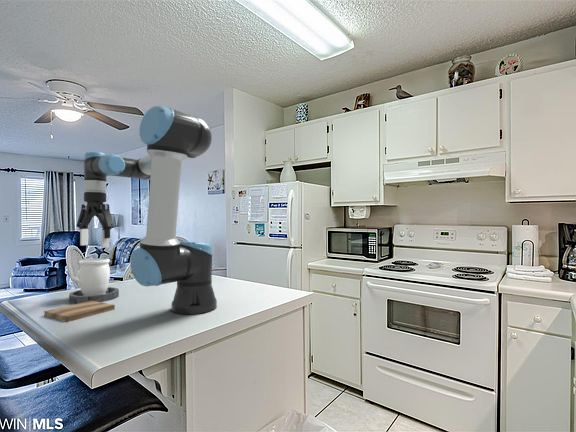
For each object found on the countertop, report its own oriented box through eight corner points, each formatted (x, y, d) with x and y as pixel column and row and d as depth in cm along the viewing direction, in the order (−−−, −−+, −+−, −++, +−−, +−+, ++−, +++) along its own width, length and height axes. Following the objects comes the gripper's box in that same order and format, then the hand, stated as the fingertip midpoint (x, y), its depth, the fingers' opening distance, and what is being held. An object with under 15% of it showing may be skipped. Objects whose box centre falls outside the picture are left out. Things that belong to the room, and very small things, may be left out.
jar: (99, 301, 120) (99, 261, 120) (72, 301, 120) (72, 261, 120) (115, 294, 130) (115, 258, 131) (90, 294, 131) (90, 258, 131)
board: (114, 309, 110) (114, 304, 110) (67, 321, 96) (68, 316, 96) (91, 304, 116) (91, 300, 116) (44, 315, 102) (44, 311, 102)
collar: (127, 295, 129) (127, 289, 129) (86, 305, 114) (86, 298, 114) (101, 291, 136) (101, 285, 136) (59, 300, 122) (59, 293, 122)
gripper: (124, 191, 123) (124, 246, 123) (85, 193, 135) (85, 243, 135) (106, 190, 117) (105, 248, 117) (66, 192, 128) (66, 245, 128)
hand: (94, 246), depth 126 cm, fingers open, 13 cm apart
